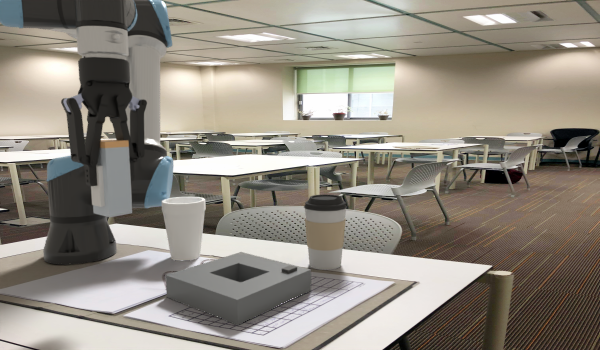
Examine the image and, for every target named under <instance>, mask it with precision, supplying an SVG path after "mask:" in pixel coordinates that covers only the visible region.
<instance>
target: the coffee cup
mask: <svg viewBox="0 0 600 350" xmlns="http://www.w3.org/2000/svg"><path fill="white" fill-rule="evenodd" d="M304 203H305V204H304V206H303V208H304V212H305V213H304V214H305V215H304V216H305V218H304V223H305V224H304V225H305V235H306V246H307V249H308V250H307V252H308V253H307V254H308V261H309V262H308V263H309V264H308V265H309V267H311V268H312V269H315V270H321V271H322V270H323V271H327V270H328V271H330V270H336V269H339V268H340V267H342V258H343V248H344V240H345V231H346V221H347V220H346V211H347V207H348V206H347V205H346V201H345V200H344V199H343V197H342V195H337V194H327V193H326V194H325V193H324V194H315V195H314V194H313V195H311V196H309V197H308V200H306V201H305V202H304Z"/></svg>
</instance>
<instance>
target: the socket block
mask: <svg viewBox="0 0 600 350" xmlns="http://www.w3.org/2000/svg"><path fill="white" fill-rule="evenodd" d="M165 287H166V292H165V293H166V298H168V299H170V300H173V301H175V302H178V303H180V302H181V304H183V303H184V304H183V305H185V304H186V306H188V305H189V307H190V306H191V308H193V309H195V308H196V310H198V309H199V311H201V310H202V311H201V312H203V311H205V312H204V313H206V312H207V313H206V314H208V313H210V314H209V315H211V314H213V315H215V316H214V317H216V316H218V317H221V318H223V319H225V320H224V321H226V320H227V321H226V322H228V321H229V323H231V322H232V324H233V323H234V324H233V325H236V326H240V325H241V324H244V323H246V322H248V321H250V320H253V319H254V318H253V317H255V316H257V317H259V316H261V315H262V313H263V314H265V313H267V312H269V311H271V310H270V309H272V308H274V307H276V306H278V305H280V304H281V303H284V302H286V301H288V300H290V299H292V298H295V297H297V296H299V295H301V294H303V295H305V294H304V293H306V294H307V292H308V293H310V292H312V269H310V268H306V267H303V266H298V265H294V264H290V263H286V262H283V261H279V260H275V259H270V258H267V257H264V256H263V257H262V256H259V255H255V254H251V253H248V252H242V251H240V252H237V253H233V254H229V255H227V256H223V257H219V258H216V259H214V260H210V261H207V262H204V263H201V264H198V265H195V266H194V265H193V266H190V267H187V268H184V269H181V270H178V271H174V272H170V273H168V274H165ZM309 291H310V292H309ZM301 296H302V295H301ZM299 297H300V296H299ZM297 298H298V297H297ZM295 299H296V298H295ZM286 303H287V302H286ZM284 304H285V303H284ZM280 306H281V305H280ZM278 307H279V306H278ZM276 308H277V307H276ZM274 309H275V308H274ZM272 310H273V309H272ZM264 312H265V313H264ZM260 314H261V315H260ZM213 315H212V316H213ZM258 315H259V316H258ZM218 317H217V318H218ZM221 318H220V319H221ZM255 318H256V317H255ZM223 319H222V320H223ZM249 319H250V320H249ZM247 320H248V321H247ZM245 321H246V322H245ZM243 322H244V323H243ZM239 324H240V325H239Z"/></svg>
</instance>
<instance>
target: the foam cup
mask: <svg viewBox="0 0 600 350" xmlns="http://www.w3.org/2000/svg"><path fill="white" fill-rule="evenodd" d="M206 209H207V208H206V199H205V198H204V197H200V196H177V197H176V196H175V197H169V199H164V200H162V206H161V212H162V214H163V220H164V224H165V225H164V226H165V231H166V237H167V242H168V248H169V254H170V258H171V260H172V259H174V260H173V261H175V260H190V261H193V260H192V259H195V260H196V258H197V259H199V258H200V257H201V250H202V242H203V241H202V240H203V231H204V230H203V229H204V221H205V212H206Z"/></svg>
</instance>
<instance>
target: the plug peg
mask: <svg viewBox="0 0 600 350" xmlns="http://www.w3.org/2000/svg"><path fill="white" fill-rule="evenodd" d="M97 165H100V166H103V181H104V198H105V206H103V207H99V206H95V205H93V211H94V213H95V214H99V215H102V216H106V217H107V218H114V217H119V216H123V215H124V216H125V215H128V214H133V208H132V200H131V180H130V161H129V141H128V140H116V139H101V142H100V149H99V157H98V163H97Z"/></svg>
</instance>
